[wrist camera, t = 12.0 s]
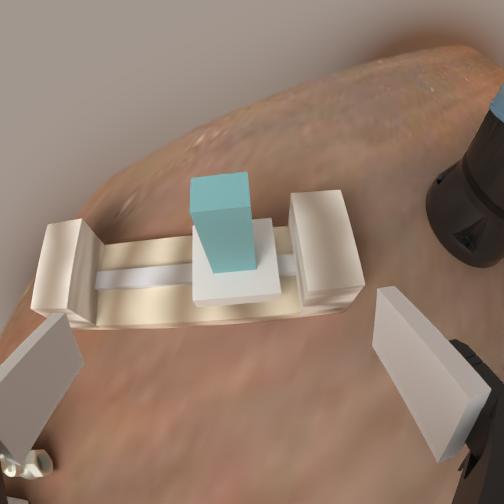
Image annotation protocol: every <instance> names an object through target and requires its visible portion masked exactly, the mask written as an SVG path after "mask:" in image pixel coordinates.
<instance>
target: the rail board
mask: <svg viewBox="0 0 504 504" xmlns="http://www.w3.org/2000/svg"><path fill="white" fill-rule="evenodd" d="M273 233H274V241H275V248H276V256H277V264H278V272H279V279H280V288H281V299H280V300H276V301H266V302H255V303H244V304H233V305H221V306H208V307H197V306H196V305H195V303H194V302H193V296H192V242H193V235H190V236H180V237H171V238H162V239H153V240H144V241H135V242H127V243H118V244H110V245H104V244H103V243H102V241H101V240H100V239H99V238H98V237H97V236H96V234H95V233H94V232H93V231H92V230H91V229H90V227H89V226H88V225H87V224H86V223H85V221H84V220H83V219H76V220H71V221H65V222H60V223H54V224H49V225H48V226H47V230H46V234H45V238H44V242H43V247H42V251H41V255H40V259H39V265H38V269H37V274H36V280H35V285H34V291H33V297H32V304H31V309H32V310H34V311H36V312H37V313H39V314H41V315H43V316H45V317H47V318H48V317H49V316H50V315H51V314H52V313H66V315H67V318H68V321H69V324H70V327H71V330H120V329H156V328H178V327H196V326H212V325H226V324H238V323H250V322H261V321H271V320H281V319H290V318H299V317H308V316H316V315H324V314H332V313H339V312H345V311H346V309H347V308H348V307H349V306H350V304H351V303H352V302H353V300H354V299H355V298H356V296H357V295H358V294H359V292H360V291H361V290H362V288H363V287H364V286H365V281H364V277H363V272H362V268H361V264H360V260H359V256H358V251H357V248H356V244H355V240H354V236H353V232H352V228H351V225H350V221H349V217H348V214H347V210H346V207H345V203H344V200H343V196H342V193H341V190H329V191H314V192H300V193H291V198H290V209H289V221H288V226H282V227H273Z"/></svg>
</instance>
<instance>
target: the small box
mask: <svg viewBox="0 0 504 504" xmlns="http://www.w3.org/2000/svg"><path fill="white" fill-rule="evenodd" d="M7 500H8V504H29V503H28V501H27V500H23V499H17V498H12V497H8V496H7Z"/></svg>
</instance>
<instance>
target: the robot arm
mask: <svg viewBox="0 0 504 504" xmlns="http://www.w3.org/2000/svg"><path fill="white" fill-rule="evenodd" d="M426 211H427V216H428V219H429V222H430V224H431V227H432V229H433V231H434V233H435V234H436V236H437V237H438V239H439V240H440V242H441V243H442V244H443V245H444V247H445V248H446V249H447V250H448V251H449V252H450V253H451V254H453V255H454V256H455V257H456V258H458V259H459V260H461V261H462V262H464V263H466V264H468V265H471V266H474V267H479V268H486V267H491V266H493V265H495V264H497V263H498V262H499V261H500V260H501V259H502V258H504V83H503V84H502V86H501V88H500V90H499V92H498V93H497V95H496V97H495V98H494V99H493V100H492V101H491V103H490V109H489V111H488V113H487V115H486V117H485V119H484V121H483V123H482V124H481V126H480V128H479V130H478V132H477V134H476V136H475V137H474V139H473V141H472V143H471V144H470V146H469V148H468V150H467V151H466V153H465V155H464V156H463V158H462V159H461V160H459V161H458V162H456V163H455V164H454V165H452V166H451V167H450V168H448V169H447V170H445V171H444V172H443V173H441V174H440V175H439V176H438V177H437V178H436V179H435V181H434V182H433V184H432V186H431V187H430V189H429V191H428V193H427V197H426ZM372 347H373V348H374V350H375V352H376V353H377V355H378V357H379V358H380V360H381V362H382V363H383V365H384V367H385V369H386V370H387V372H388V374H389V375H390V377H391V379H392V381H393V382H394V384H395V386H396V388H397V389H398V391H399V393H400V395H401V396H402V398H403V400H404V402H405V403H406V405H407V407H408V409H409V411H410V412H411V414H412V416H413V418H414V420H415V422H416V423H417V425H418V427H419V429H420V431H421V433H422V434H423V436H424V438H425V440H426V442H427V444H428V446H429V448H430V450H431V452H432V453H433V455H434V457H435V459H436V461H437V463H440V462H442V461H445V460H447V459H449V458H452V457H454V456H456V455H458V454H459V453H460V451H461V449H462V447H463V446H464V444H465V443H466V444H467V446H468V448H469V449H470V451H469V453H468V454H467V456H466V458H465V459H464V461H463V462H462V464H461V465H460V467H459V469H458V471H461V470H462V468H463V467H464V468H463V471H462V474H461V478H460V481H459V484H458V487H457V490H456V493H455V496H454V498H453V501H452V504H504V384H503V383H502V381H501V380H500V379H499V378H498V377H497V376H496V375H495V374H494V373H493V372H492V370H491V369H490V368H489V367H488V366H487V365H486V364H485V363H483V361H482V360H481V359H480V358H479V357H478V356H476V354H475V353H474V351H473V350H472V349H471V348H470V347H469V346H468V345H466V344H464V343H462V342H460V341H458V340H457V339H454V340H450V341H448V340H447V339H446V338H445V337H444V336H443V335H442V334H441V333H440V332H439V330H438V329H437V328H436V327H435V326H434V325H433V324H432V323H431V322H430V321H429V320H428V319H427V318H426V317H425V316H424V315H423V314H422V313H421V312H420V311H419V310H418V309H417V308H416V307H415V306H414V305H413V304H412V303H411V302H410V301H409V300H408V299H407V298H406V297H405V296H404V295H403V294H402V293H401V292H400V291H399V290H398V289H397V288H396V287H395V286H390V287H383V288H377V301H376V313H375V324H374V334H373V343H372ZM84 364H85V363H84V361H83V358H82V356H81V353H80V351H79V348H78V346H77V343H76V341H75V338H74V335H73V332H72V330H71V327H70V324H69V321H68V318H67V315H66V313H52V314H51V315H50V316H49V317H48V318H47V319H46V320H45V321H44V322H43V323H42V324H41V325H40V326H39V327H38V328H37V329H36V330H35V331H34V332H33V333H32V334H31V335H30V336H29V337H28V338H27V339H26V340H25V341H24V342H23V343H22V344H21V345H20V346H19V347H18V348H17V349H16V350H15V351H14V352H13V353H12V354H11V355H10V356H9V357H8V358H7V359H6V360H5V361H4V362H3V363H2V364H1V365H0V452H1V453H2V454H3V455H4V457H5V458H6V459H7V460H8V461H10V462H12V463H15V464H17V465H20V466H22V464H23V462H24V460H25V459H26V457H27V455H28V453H29V452H30V450H31V448H32V446H33V445H34V443H35V441H36V440H37V438H38V436H39V435H40V433H41V431H42V430H43V428H44V426H45V425H46V423H47V421H48V420H49V418H50V416H51V415H52V413H53V412H54V410H55V408H56V407H57V405H58V404H59V402H60V401H61V399H62V397H63V396H64V394H65V393H66V391H67V390H68V388H69V387H70V385H71V384H72V382H73V381H74V379H75V378H76V376H77V375H78V373H79V372H80V370H81V369H82V367H83V366H84ZM0 504H8V500H7V495H6V490H5V485H4V480H3V474H2V467H1V462H0Z"/></svg>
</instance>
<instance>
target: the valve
mask: <svg viewBox="0 0 504 504" xmlns="http://www.w3.org/2000/svg"><path fill="white" fill-rule="evenodd" d="M0 462H1V467H2V473H3V472H4V473H5V474H6V475H7V476H9V477H19V476H21V477H23V478H25V479H36V478H38V477H42V476H49V475H52V474H53V462H52V460H51V458H50V456H49V455H48V453H47V452H46V451H45V450H44V449H41V450H30V452H29V453H28V455H27V457H26V459H25V460H24V462H23V464H22V466H20V465H17V464H15V463H12V462H10V461H8V460H7V459H6V458H5V457H4V455H3V454H1V455H0Z"/></svg>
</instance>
